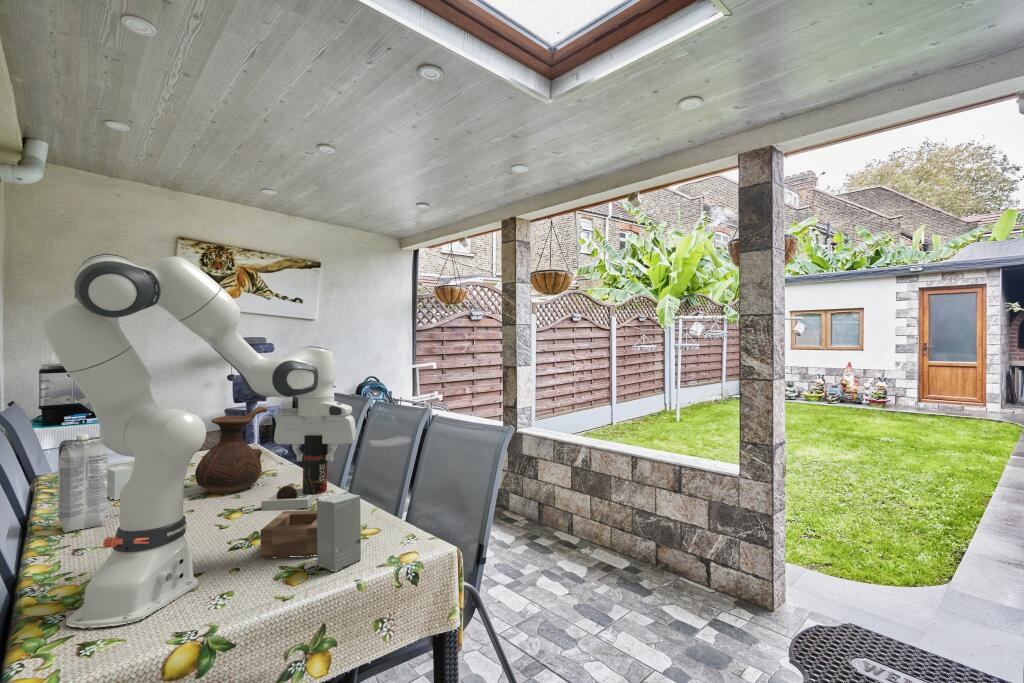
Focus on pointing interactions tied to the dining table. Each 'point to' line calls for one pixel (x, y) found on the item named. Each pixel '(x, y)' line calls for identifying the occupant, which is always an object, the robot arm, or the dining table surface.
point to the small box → (117, 480)
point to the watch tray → (288, 501)
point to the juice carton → (82, 483)
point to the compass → (287, 493)
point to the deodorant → (314, 465)
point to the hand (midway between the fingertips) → (315, 461)
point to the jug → (230, 458)
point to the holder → (290, 535)
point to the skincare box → (338, 531)
